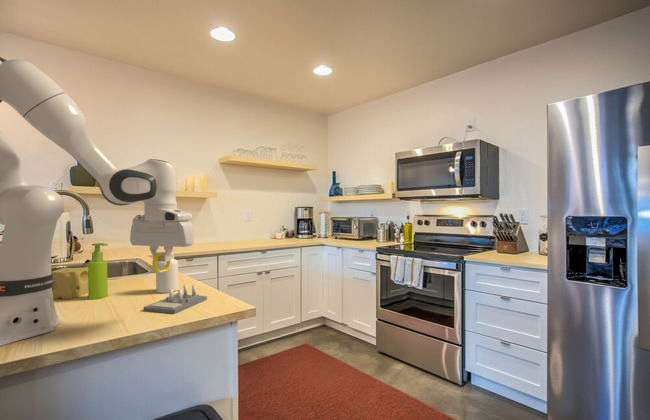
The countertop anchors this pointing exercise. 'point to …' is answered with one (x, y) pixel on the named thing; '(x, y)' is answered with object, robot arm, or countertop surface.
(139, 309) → the countertop surface
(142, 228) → the robot arm
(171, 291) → the gray pegged board
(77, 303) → the countertop surface
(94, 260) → the soap dispenser
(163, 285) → the pill bottle
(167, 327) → the countertop surface
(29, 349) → the countertop surface
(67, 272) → the cheese
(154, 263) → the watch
